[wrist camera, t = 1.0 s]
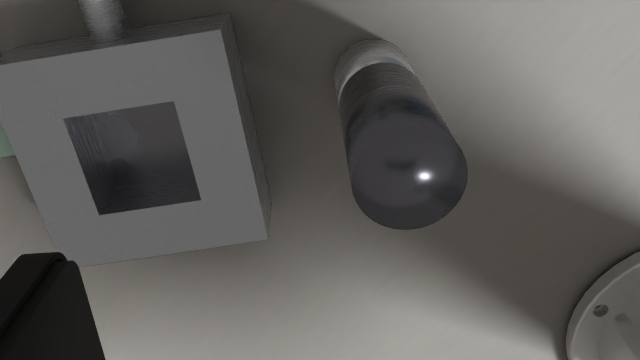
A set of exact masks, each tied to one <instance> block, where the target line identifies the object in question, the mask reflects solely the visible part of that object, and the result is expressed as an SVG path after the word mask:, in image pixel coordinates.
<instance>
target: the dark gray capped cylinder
mask: <svg viewBox="0 0 640 360" xmlns="http://www.w3.org/2000/svg"><path fill="white" fill-rule="evenodd" d="M334 83H335V89H336V95H337V101H338V107H339V113H340V119H341V125H342V131H343V137H344V143H345V149H346V155H347V161H348V167H349V173H350V179H351V185H352V190H353V195H354V197H355V200H356V202H357V204H358V206H359V207H360V209H361V210H362V211H363V212H364V213H365V214H366V215H367V216H368V217H369V218H370V219H372V220H373V221H375V222H377V223H378V224H380V225H383V226H386V227H389V228H393V229H404V230H408V229H416V228H421V227H424V226H428V225H430V224H432V223H435V222H436V221H438V220H440V219H441V218H443V217H444V216H445V215H447V214H448V213H449V212H450V211H451V210H452V209H453V208H454V207H455V206H456V204H457V203H458V202H459V200H460V198H461V197H462V195H463V192H464V190H465V187H466V182H467V164H466V160H465V157H464V155H463V153H462V151H461V149H460V148H459V146H458V144H457V143H456V141H455V139H454V138H453V136H452V134H451V133H450V131H449V129H448V128H447V126H446V124H445V123H444V121H443V119H442V118H441V116H440V114H439V113H438V111H437V109H436V108H435V106H434V104H433V103H432V101H431V100H430V98H429V96H428V95H427V93H426V91H425V90H424V88H423V86H422V85H421V83H420V81H419V80H418V78H417V76H416V75H415V73H414V71H413V70H412V68H411V66H410V65H409V63H408V61H407V60H406V58H405V56H404V55H403V53H402V52H401V51H400V50H399V49H398V48H397V47H396V46H394V45H393V44H391V43H389V42H386V41H383V40H378V39H369V40H364V41H361V42H358V43H356V44H354V45H352V46H351V47H349V48H348V49H347V50H346V51H345V52H344V53H343V54H342V56H341V57H340V59H339V60H338V62H337V65H336V68H335V73H334Z"/></svg>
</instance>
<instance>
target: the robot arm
mask: <svg viewBox="0 0 640 360" xmlns="http://www.w3.org/2000/svg"><path fill="white" fill-rule="evenodd" d="M565 341H566V353H567V357H568V360H640V251H639V252H637V253H635V254H633V255H631V256H630V257H628V258H626V259H625V260H623V261H621V262H619V263H618V264H616V265H615V266H613V267H612V268H611V269H610V270H608V271H607V272H606V273H605V274H603V275H602V276H601V277H600V278H599V279H598V280H597V281H596V282H595V283H594V284H593V285H592V286H591V287H590V288H589V289H588V290H587V291H586V292H585V294H584V295H583V297H582V298H581V300H580V301H579V303H578V304H577V306H576V308H575V309H574V312H573V314H572V316H571V319H570V321H569V324H568V328H567V334H566V340H565ZM0 360H105V356H104V353H103V350H102V346H101V343H100V339H99V336H98V332H97V329H96V325H95V322H94V319H93V315H92V312H91V308H90V305H89V301H88V298H87V294H86V291H85V287H84V284H83V281H82V277H81V274H80V270H79V267H78V265H77V264H76V262H75V261H73V260H69V261H67V258H66V257H65V256H64V254H62V253H60V252H51V253H35V254H24V255H21V256H20V257H19V258H17V260H16V261H15V262H14V263H13V265H12V266H11V267H10V268H9V270H8V271H7V272H6V273H5V274H4V276H3V277H2V278H1V279H0Z"/></svg>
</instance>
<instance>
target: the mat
mask: <svg viewBox="0 0 640 360" xmlns="http://www.w3.org/2000/svg"><path fill="white" fill-rule="evenodd" d="M14 155H15V153H14V151H13V149H12V146H11V144H10V141H9V139H8V137H7V134H6V132H5V130H4V127H3V125H2V123H1V120H0V158H1V157H7V156H14Z"/></svg>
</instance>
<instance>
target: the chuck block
mask: <svg viewBox="0 0 640 360" xmlns="http://www.w3.org/2000/svg"><path fill="white" fill-rule="evenodd" d="M78 2H79V5H80V8H81V12H82V15H83V18H84V21H85V24H86V27H87V30H88V33H89V36H83V37H77V38H71V39H65V40H59V41H53V42H47V43H40V44H34V45H28V46H22V47H16V48H14V49H12V50H11V51H9V52H7V53H5V54H4V55H2V56H0V120H1V123H2V125H3V127H4V130H5V132H6V134H7V137H8V139H9V141H10V144H11V146H12V149H13V151H14V153H15V156H16V158H17V160H18V163H19V165H20V167H21V170H22V172H23V174H24V177H25V179H26V181H27V184H28V186H29V189H30V191H31V193H32V196H33V198H34V200H35V203H36V205H37V207H38V210H39V212H40V214H41V217H42V219H43V222H44V224H45V226H46V229H47V231H48V233H49V236H50V238H51V240H52V243H53V245H54V247H55V250H56V252H60V253H62V254H64V256H65V257H66V258H67V261H69V260H73V261H75V262H76V264H77V265H78V267H84V266H91V265H98V264H105V263H112V262H119V261H125V260H132V259H139V258H146V257H153V256H160V255H167V254H173V253H180V252H187V251H194V250H201V249H208V248H215V247H221V246H228V245H235V244H242V243H249V242H256V241H263V240H268V238H269V227H270V217H271V206H272V203H271V199H270V194H269V189H268V185H267V180H266V176H265V171H264V166H263V162H262V157H261V153H260V148H259V143H258V139H257V134H256V130H255V125H254V120H253V116H252V111H251V107H250V102H249V97H248V93H247V88H246V84H245V79H244V74H243V70H242V65H241V61H240V56H239V51H238V47H237V42H236V38H235V33H234V28H233V24H232V19H231V15H230V13H224V14H218V15H212V16H206V17H200V18H194V19H188V20H181V21H175V22H169V23H163V24H157V25H151V26H145V27H139V28H132V29H128V27H127V24H126V20H125V17H124V14H123V10H122V7H121V4H120V0H78Z"/></svg>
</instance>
